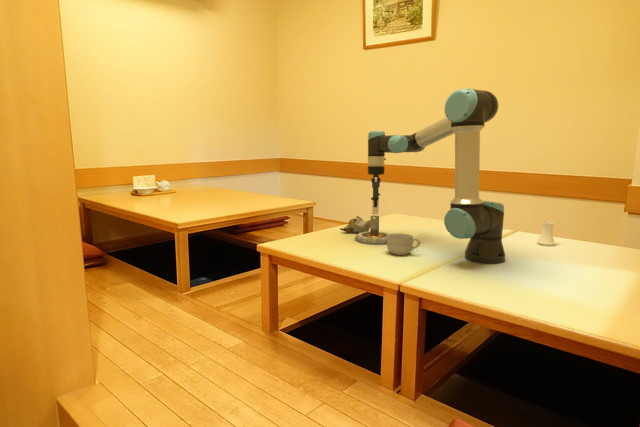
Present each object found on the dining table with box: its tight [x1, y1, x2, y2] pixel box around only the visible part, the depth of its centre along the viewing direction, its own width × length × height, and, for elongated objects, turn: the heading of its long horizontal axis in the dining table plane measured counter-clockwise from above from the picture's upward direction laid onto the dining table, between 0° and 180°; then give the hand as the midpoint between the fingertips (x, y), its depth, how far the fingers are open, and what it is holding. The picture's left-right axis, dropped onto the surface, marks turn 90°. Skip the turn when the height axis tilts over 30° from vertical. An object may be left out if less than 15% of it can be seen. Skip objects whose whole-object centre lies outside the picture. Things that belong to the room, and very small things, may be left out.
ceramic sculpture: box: [339, 215, 370, 234], centre depth 220 cm, size 11×9×15 cm
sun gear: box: [365, 214, 384, 238], centre depth 204 cm, size 9×9×10 cm
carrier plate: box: [354, 231, 389, 246], centre depth 205 cm, size 18×18×2 cm
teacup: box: [386, 232, 421, 256], centre depth 180 cm, size 14×11×8 cm
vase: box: [536, 221, 556, 247], centre depth 197 cm, size 8×8×10 cm
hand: (375, 211), depth 202 cm, fingers open, 13 cm apart
